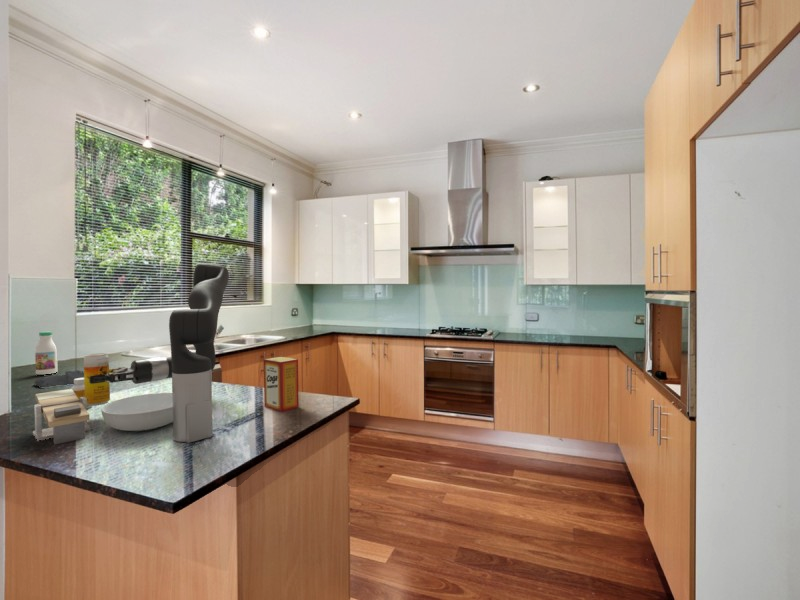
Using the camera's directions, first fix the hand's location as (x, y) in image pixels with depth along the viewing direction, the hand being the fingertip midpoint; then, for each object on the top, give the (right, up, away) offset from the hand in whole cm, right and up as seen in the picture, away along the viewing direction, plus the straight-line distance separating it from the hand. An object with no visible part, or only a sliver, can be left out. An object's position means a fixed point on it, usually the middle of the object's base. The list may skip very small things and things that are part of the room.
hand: (87, 378), depth 121 cm
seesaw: (+2, -5, -11) cm, 13 cm away
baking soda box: (+55, -12, +11) cm, 57 cm away
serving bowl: (+22, -12, -6) cm, 26 cm away
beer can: (+2, -8, +2) cm, 9 cm away
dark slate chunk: (-48, -12, +52) cm, 72 cm away
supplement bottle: (-11, -12, +12) cm, 21 cm away
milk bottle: (-72, -12, +69) cm, 100 cm away
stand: (+4, -12, -13) cm, 19 cm away
